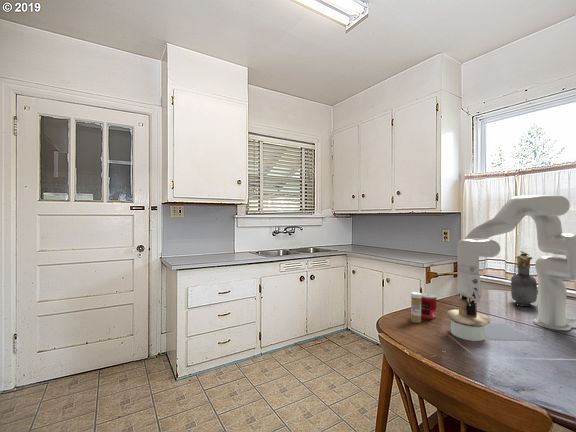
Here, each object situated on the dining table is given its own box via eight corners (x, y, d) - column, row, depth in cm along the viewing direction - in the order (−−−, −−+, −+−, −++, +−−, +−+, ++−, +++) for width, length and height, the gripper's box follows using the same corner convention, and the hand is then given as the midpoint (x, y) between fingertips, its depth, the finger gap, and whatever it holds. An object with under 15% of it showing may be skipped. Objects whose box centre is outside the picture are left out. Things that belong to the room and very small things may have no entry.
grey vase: (511, 306, 156) (512, 252, 156) (509, 298, 172) (510, 248, 171) (538, 310, 150) (538, 253, 150) (533, 301, 165) (534, 250, 165)
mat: (504, 324, 131) (504, 323, 131) (536, 342, 113) (536, 340, 113) (464, 323, 132) (464, 322, 132) (490, 341, 114) (490, 339, 114)
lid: (474, 312, 126) (475, 296, 126) (498, 325, 111) (498, 307, 111) (440, 311, 127) (440, 295, 127) (459, 325, 112) (459, 306, 112)
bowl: (473, 330, 125) (473, 316, 125) (491, 342, 113) (492, 327, 113) (445, 329, 125) (445, 315, 125) (460, 341, 113) (461, 326, 113)
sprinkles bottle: (409, 321, 134) (409, 293, 134) (412, 319, 138) (412, 291, 138) (419, 324, 131) (420, 295, 131) (422, 321, 135) (422, 292, 135)
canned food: (435, 315, 143) (435, 293, 143) (437, 321, 135) (437, 297, 135) (418, 313, 145) (418, 292, 145) (420, 319, 138) (420, 296, 138)
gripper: (490, 273, 110) (490, 320, 110) (465, 265, 127) (465, 306, 127) (470, 273, 111) (470, 320, 111) (448, 265, 127) (448, 306, 127)
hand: (467, 312), depth 119 cm, fingers closed on lid, 4 cm apart
